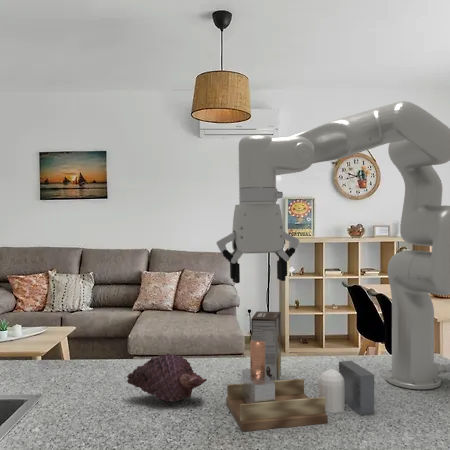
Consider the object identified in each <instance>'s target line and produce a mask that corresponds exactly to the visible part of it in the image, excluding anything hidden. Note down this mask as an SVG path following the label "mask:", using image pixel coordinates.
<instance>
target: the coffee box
mask: <svg viewBox="0 0 450 450" xmlns="http://www.w3.org/2000/svg"><path fill="white" fill-rule="evenodd" d="M281 314H282V312H281V311H256V312H255V313H254V314H253V316H252V317H251V319H250V320H251V321H250V322H251V323H250V326H251V329H250V330H251V331H250V335H251V336H250V337H251V340H250V341H252V340H263V341H265V374H266V375H267V376H268V377H269V378H270V379H271V380H272V381H280V378H281V375H282V355H281V354H282V344H281V343H282V338H281V337H282V335H281V334H282V332H281V329H282V326H281V325H282V323H281V319H282V318H281Z"/></svg>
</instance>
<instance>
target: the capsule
mask: <svg viewBox="0 0 450 450" xmlns="http://www.w3.org/2000/svg"><path fill="white" fill-rule="evenodd" d="M318 397H325V413H331V414H338V413H342V412H344V411H345V406H346V405H345V404H346V403H345V382H344V378H343V376H342V375H341V374H340V373H339V370H336V369H333V368H332V369H329V368H328V369H326V370H324V371H322V373H321V374H320V376H319V379H318Z"/></svg>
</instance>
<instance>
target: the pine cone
mask: <svg viewBox="0 0 450 450" xmlns="http://www.w3.org/2000/svg"><path fill="white" fill-rule="evenodd" d="M126 378H127V380H126V382H127V384H129V385H133V386H135V388H139V389H141V391H142V392H144V393H145V392H146V393H147V394H148V395H152V396H156V399H157V400H162V401H165V402H167V403H169V402H171V403H173V402H174V403H175V402H177V401H181V400H183V399H187V398H191V396H192V393H193V389H194V388H198V387H200V386H202V384H204V383H205V382H207V380H208V378H203V377H202V376H201V375H199V374H197V372H194V370H193V367H192V366H191V363H190V361H188V359H187V358H184V357H183V355H177V354H175V353H173V354H170V353H166V354H165V355H157V356H156V357H151V358H150V360H147V361H146V362H145V363H144V364H142V365H139V366H137V367H136V369H134V370H133V371H132V372H130V373H128V374H127V376H126Z"/></svg>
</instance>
